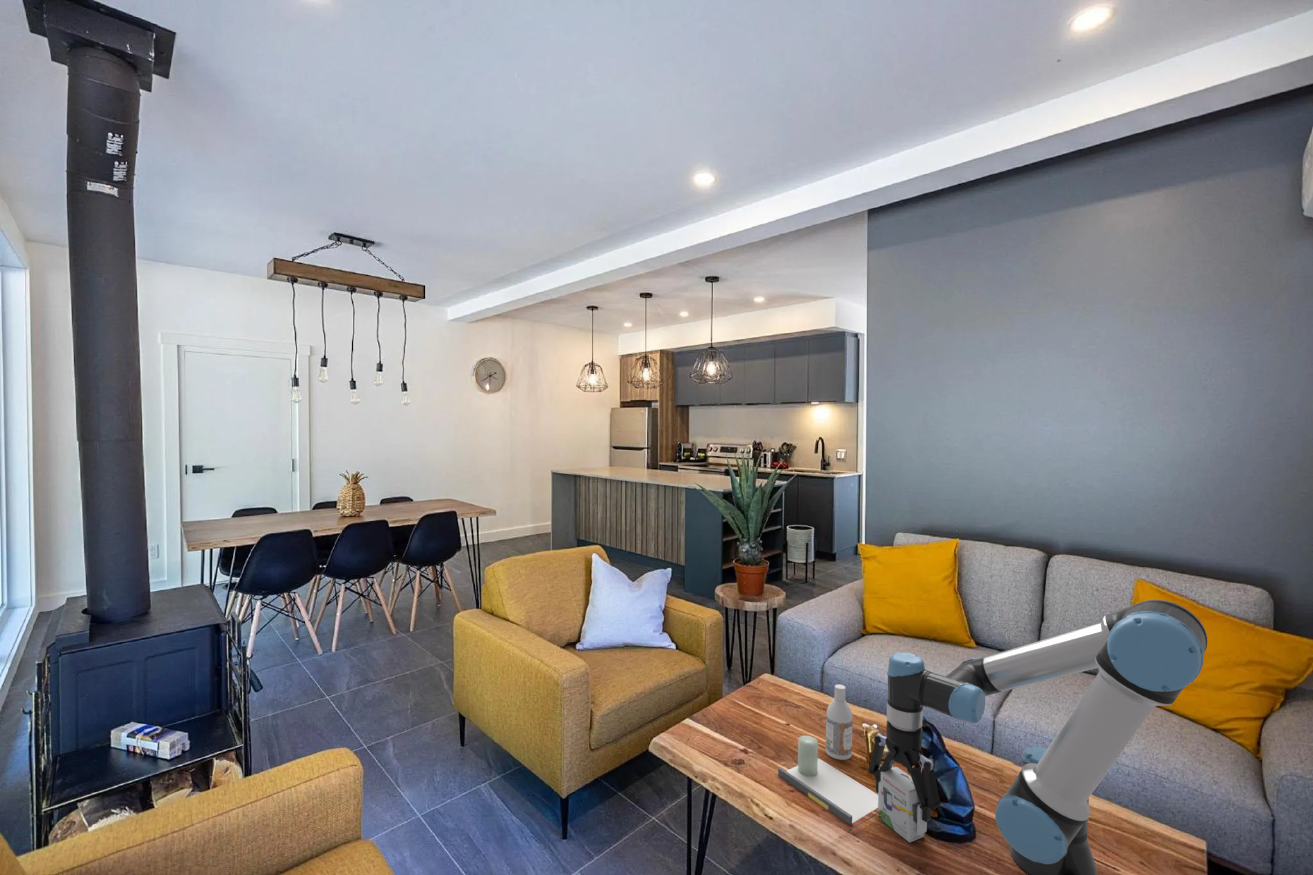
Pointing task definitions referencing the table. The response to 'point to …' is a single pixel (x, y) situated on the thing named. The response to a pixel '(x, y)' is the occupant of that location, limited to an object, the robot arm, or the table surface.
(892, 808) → the ink box
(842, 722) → the bath foam
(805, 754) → the sage canister
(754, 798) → the table surface
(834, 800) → the shelf board
